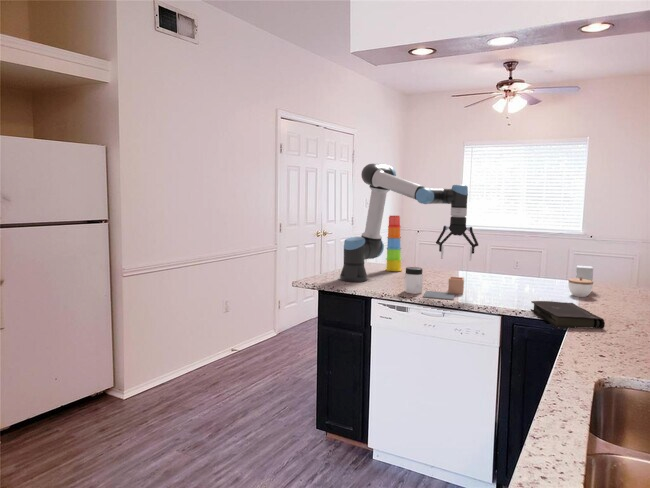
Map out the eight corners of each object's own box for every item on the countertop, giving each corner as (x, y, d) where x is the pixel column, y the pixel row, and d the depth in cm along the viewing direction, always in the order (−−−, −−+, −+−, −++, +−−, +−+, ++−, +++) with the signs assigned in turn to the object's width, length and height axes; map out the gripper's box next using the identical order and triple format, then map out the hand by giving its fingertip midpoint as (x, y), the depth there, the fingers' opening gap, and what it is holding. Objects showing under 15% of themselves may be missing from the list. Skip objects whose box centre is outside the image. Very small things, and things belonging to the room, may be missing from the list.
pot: (448, 292, 233) (448, 278, 232) (449, 290, 239) (449, 276, 239) (462, 294, 231) (463, 280, 230) (463, 291, 237) (464, 277, 236)
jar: (412, 294, 227) (413, 270, 226) (400, 291, 234) (401, 267, 233) (425, 292, 232) (426, 268, 231) (413, 289, 239) (414, 266, 237)
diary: (572, 313, 200) (574, 302, 199) (604, 331, 175) (605, 318, 175) (528, 311, 201) (529, 300, 200) (553, 328, 176) (554, 315, 176)
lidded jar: (589, 294, 236) (591, 276, 234) (594, 299, 225) (595, 279, 224) (565, 292, 239) (567, 274, 238) (569, 296, 229) (570, 278, 228)
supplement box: (590, 289, 247) (592, 266, 245) (591, 292, 240) (593, 268, 239) (574, 288, 250) (576, 265, 248) (575, 291, 243) (577, 267, 242)
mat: (422, 297, 222) (422, 296, 222) (426, 291, 235) (426, 290, 235) (453, 300, 217) (453, 299, 217) (455, 294, 230) (455, 293, 230)
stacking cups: (383, 271, 292) (385, 215, 288) (387, 268, 302) (389, 214, 298) (399, 272, 289) (402, 216, 285) (403, 269, 298) (405, 215, 294)
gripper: (431, 215, 231) (429, 258, 234) (485, 217, 223) (482, 262, 226) (433, 215, 238) (431, 256, 241) (485, 217, 230) (482, 259, 233)
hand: (456, 259), depth 233 cm, fingers open, 13 cm apart
